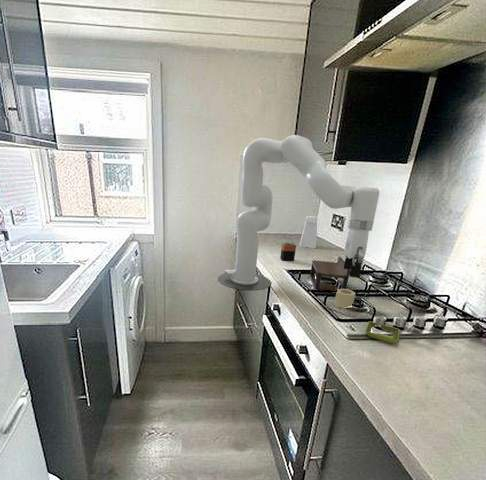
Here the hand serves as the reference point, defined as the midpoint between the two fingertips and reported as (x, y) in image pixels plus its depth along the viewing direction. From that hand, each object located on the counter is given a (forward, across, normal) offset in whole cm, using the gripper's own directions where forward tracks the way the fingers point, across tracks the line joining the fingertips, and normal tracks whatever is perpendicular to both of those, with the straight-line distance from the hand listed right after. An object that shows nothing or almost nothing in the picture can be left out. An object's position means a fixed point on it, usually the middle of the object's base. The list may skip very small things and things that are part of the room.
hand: (351, 272), depth 108 cm
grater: (+12, -101, -4) cm, 102 cm away
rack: (+13, -22, -4) cm, 26 cm away
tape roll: (+13, 0, 0) cm, 13 cm away
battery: (+12, -58, -20) cm, 63 cm away
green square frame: (+13, +21, +6) cm, 26 cm away
